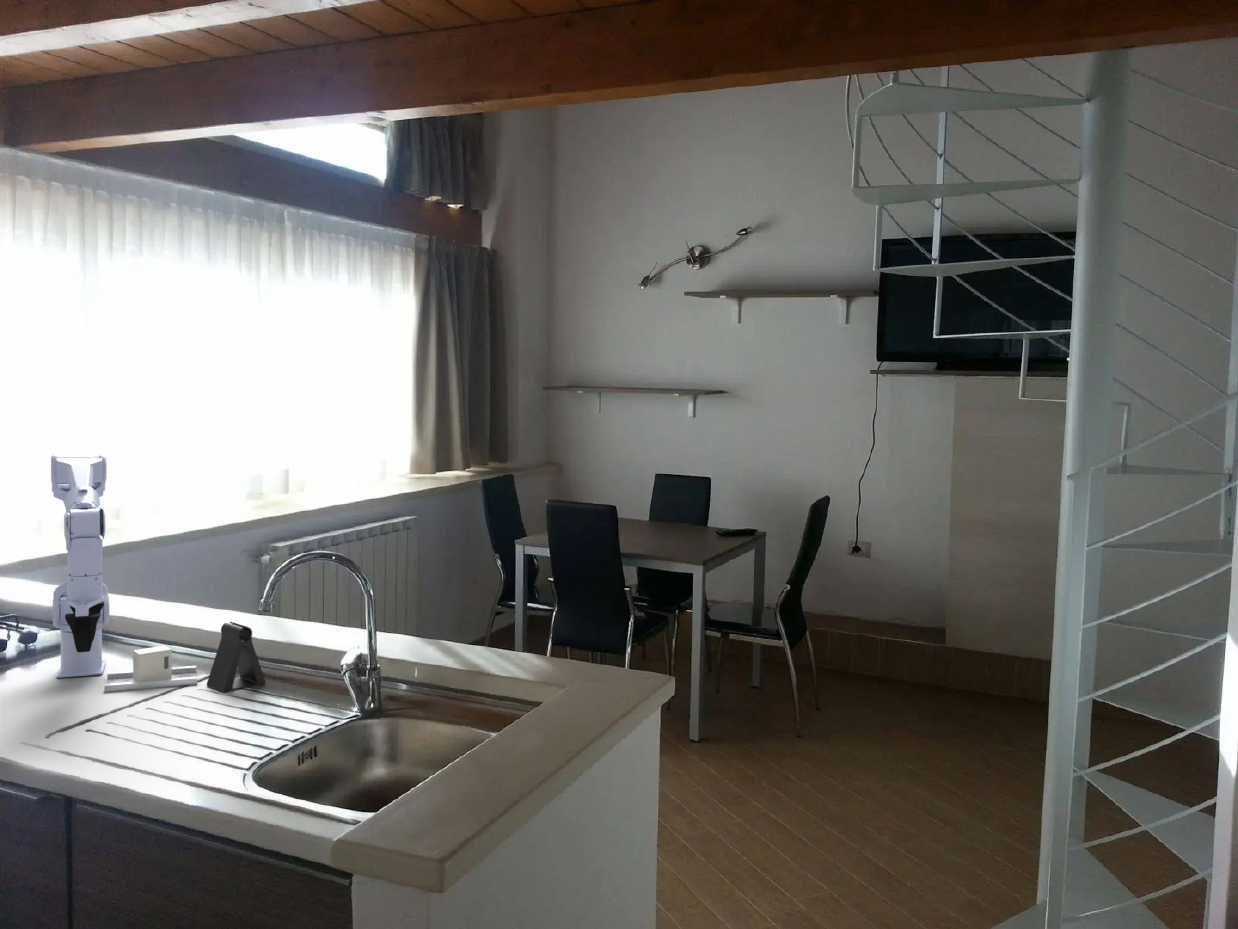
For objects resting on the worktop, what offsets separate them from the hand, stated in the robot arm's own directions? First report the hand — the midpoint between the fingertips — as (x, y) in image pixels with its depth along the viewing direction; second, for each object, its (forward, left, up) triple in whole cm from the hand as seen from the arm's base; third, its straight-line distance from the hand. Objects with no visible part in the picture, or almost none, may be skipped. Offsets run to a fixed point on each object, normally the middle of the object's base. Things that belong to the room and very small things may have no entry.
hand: (85, 646), depth 181 cm
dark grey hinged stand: (+1, +26, -10) cm, 28 cm away
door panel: (-6, +11, -9) cm, 16 cm away
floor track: (-6, +11, -9) cm, 16 cm away
